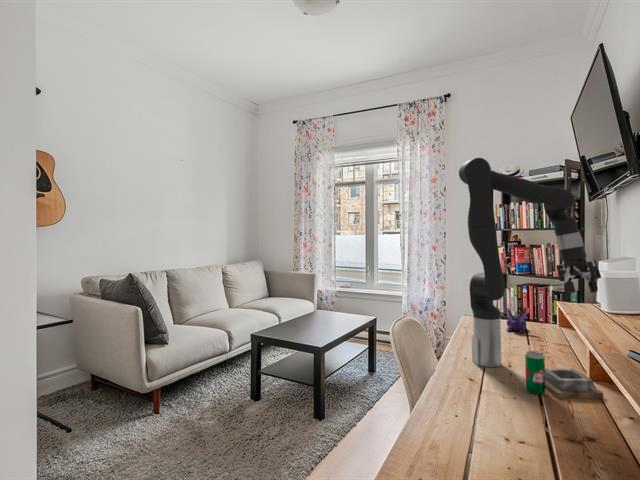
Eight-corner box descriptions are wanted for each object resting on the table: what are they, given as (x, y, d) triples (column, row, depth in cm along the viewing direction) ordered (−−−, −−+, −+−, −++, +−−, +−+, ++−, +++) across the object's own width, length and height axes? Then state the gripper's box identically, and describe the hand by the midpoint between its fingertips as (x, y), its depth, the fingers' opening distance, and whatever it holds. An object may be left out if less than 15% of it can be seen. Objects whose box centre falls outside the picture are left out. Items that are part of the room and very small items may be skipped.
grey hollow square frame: (556, 398, 109) (556, 382, 109) (534, 380, 122) (534, 366, 122) (603, 398, 108) (603, 382, 108) (575, 380, 121) (575, 366, 121)
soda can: (535, 396, 110) (534, 356, 110) (521, 390, 115) (521, 351, 115) (549, 394, 112) (548, 354, 111) (535, 387, 116) (534, 349, 116)
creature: (504, 334, 175) (504, 308, 175) (507, 325, 191) (507, 301, 191) (526, 337, 171) (525, 310, 171) (527, 327, 187) (526, 303, 186)
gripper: (545, 251, 138) (557, 294, 136) (580, 245, 124) (593, 294, 122) (562, 247, 139) (573, 291, 138) (597, 242, 126) (611, 290, 124)
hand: (582, 292), depth 130 cm, fingers open, 8 cm apart
